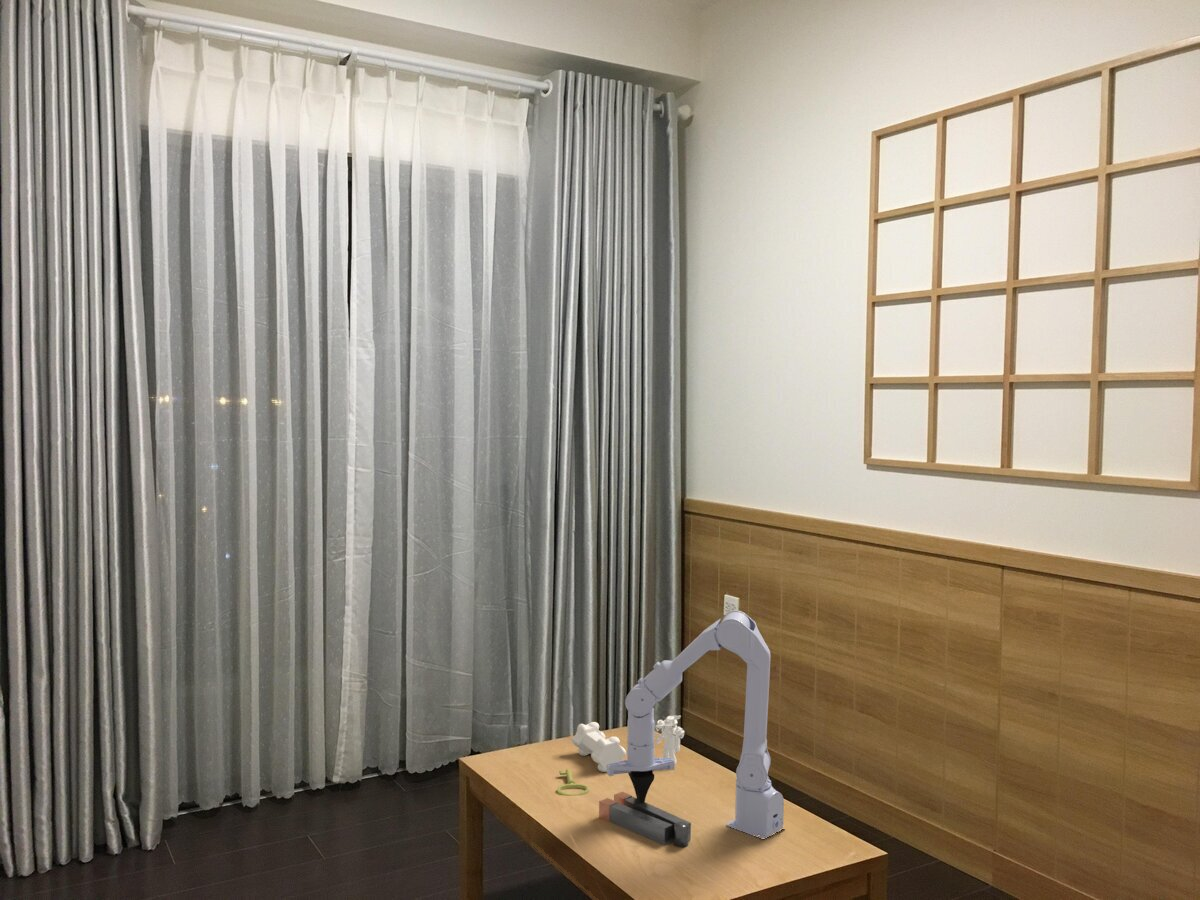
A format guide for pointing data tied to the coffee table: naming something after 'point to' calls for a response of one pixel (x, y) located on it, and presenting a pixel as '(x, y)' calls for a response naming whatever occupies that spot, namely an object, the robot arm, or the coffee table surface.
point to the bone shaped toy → (598, 745)
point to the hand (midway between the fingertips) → (640, 805)
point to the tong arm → (659, 817)
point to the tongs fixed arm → (635, 821)
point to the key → (571, 785)
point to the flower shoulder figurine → (670, 736)
